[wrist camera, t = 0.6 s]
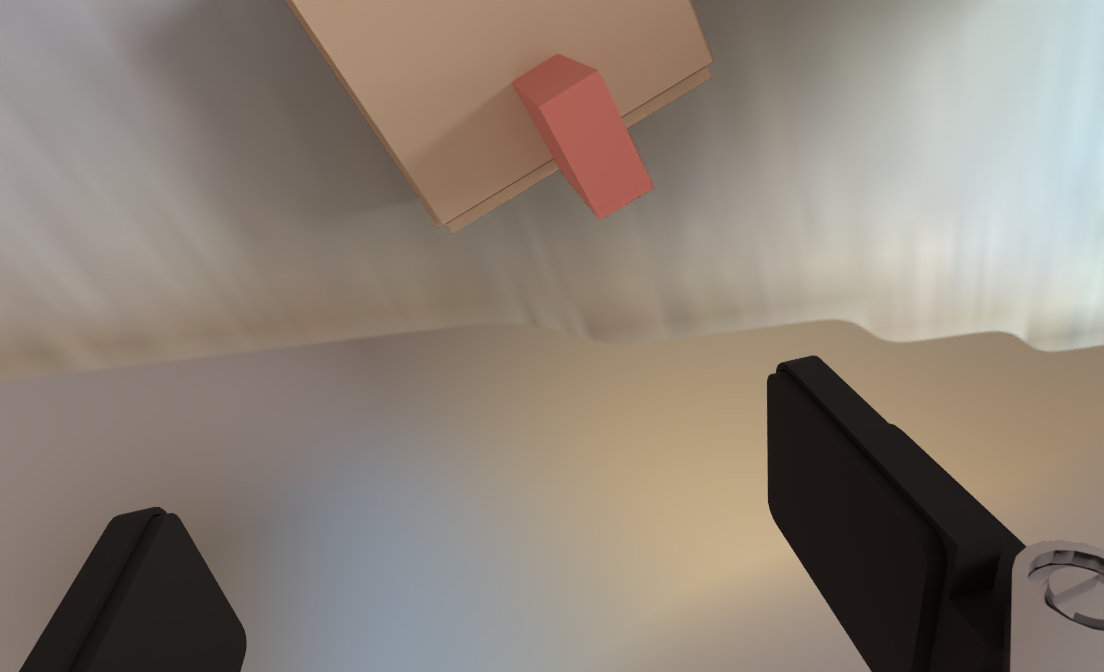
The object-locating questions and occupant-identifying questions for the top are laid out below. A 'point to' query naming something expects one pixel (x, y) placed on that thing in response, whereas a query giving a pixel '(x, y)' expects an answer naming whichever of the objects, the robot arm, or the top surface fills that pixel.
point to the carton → (537, 173)
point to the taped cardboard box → (510, 87)
